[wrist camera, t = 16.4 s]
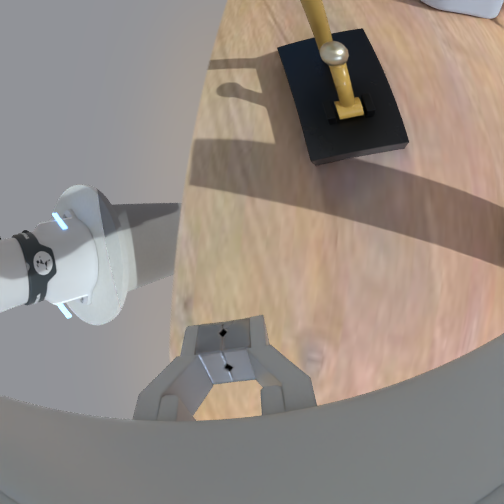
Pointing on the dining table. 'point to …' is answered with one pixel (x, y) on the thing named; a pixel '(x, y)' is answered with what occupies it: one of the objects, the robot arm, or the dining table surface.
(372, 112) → the lamp
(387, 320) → the dining table surface
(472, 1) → the plastic bottle
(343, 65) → the lamp switch
